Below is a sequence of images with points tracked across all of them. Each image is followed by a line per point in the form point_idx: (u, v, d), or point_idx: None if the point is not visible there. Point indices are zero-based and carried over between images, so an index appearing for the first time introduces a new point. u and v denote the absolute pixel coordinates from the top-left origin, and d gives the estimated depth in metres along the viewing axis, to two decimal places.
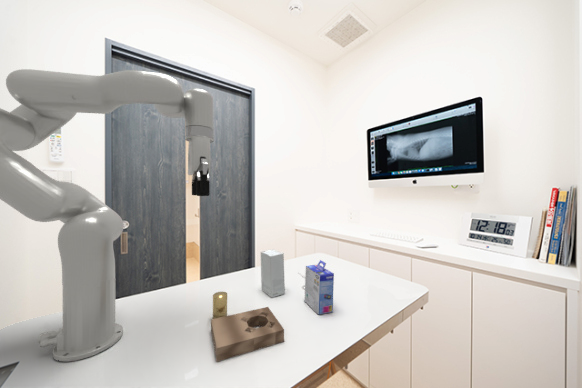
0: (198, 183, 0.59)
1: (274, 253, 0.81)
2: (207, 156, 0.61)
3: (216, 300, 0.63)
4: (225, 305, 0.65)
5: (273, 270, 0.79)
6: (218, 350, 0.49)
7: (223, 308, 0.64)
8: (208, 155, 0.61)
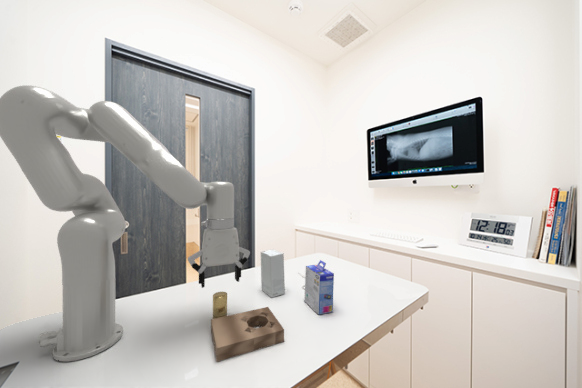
0: None
1: (274, 253, 0.81)
2: None
3: (216, 300, 0.63)
4: (225, 305, 0.65)
5: (273, 270, 0.79)
6: (218, 350, 0.49)
7: (223, 308, 0.64)
8: None
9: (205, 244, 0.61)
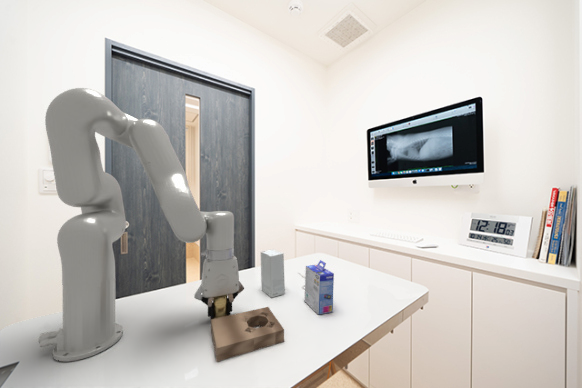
0: None
1: (274, 253, 0.81)
2: None
3: (216, 300, 0.63)
4: (225, 305, 0.65)
5: (273, 270, 0.79)
6: (218, 350, 0.49)
7: (223, 308, 0.64)
8: None
9: (205, 275, 0.61)
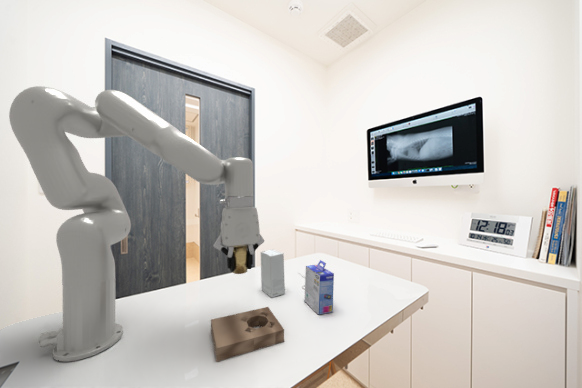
0: None
1: (274, 253, 0.81)
2: None
3: (237, 251, 0.60)
4: (246, 256, 0.61)
5: (273, 270, 0.79)
6: (218, 350, 0.49)
7: (243, 259, 0.61)
8: None
9: (225, 223, 0.58)
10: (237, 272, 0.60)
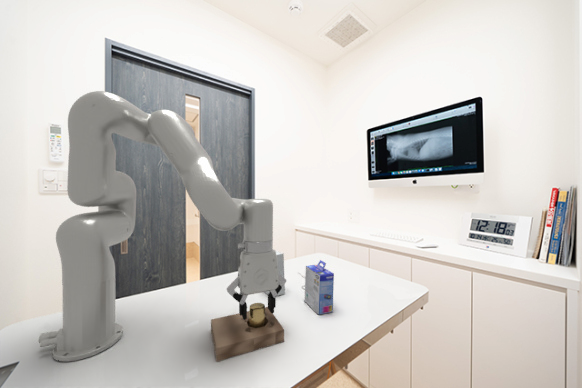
0: None
1: None
2: None
3: (254, 314, 0.57)
4: (263, 318, 0.58)
5: None
6: (218, 350, 0.49)
7: (261, 322, 0.57)
8: None
9: (244, 270, 0.55)
10: None
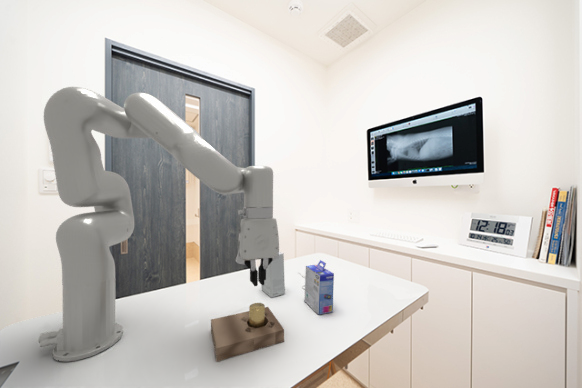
0: None
1: None
2: None
3: (254, 313, 0.57)
4: (263, 318, 0.58)
5: (273, 270, 0.79)
6: (218, 350, 0.49)
7: (261, 321, 0.57)
8: None
9: (244, 235, 0.55)
10: None
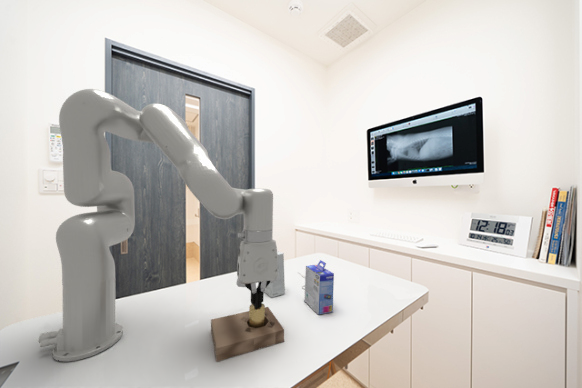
0: None
1: None
2: None
3: (254, 314, 0.57)
4: (263, 318, 0.58)
5: None
6: (218, 350, 0.49)
7: (261, 321, 0.57)
8: None
9: (243, 259, 0.55)
10: None
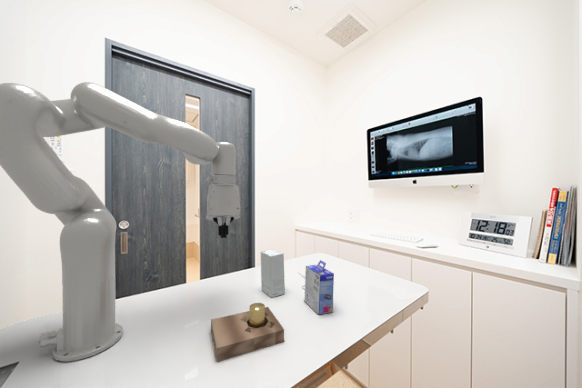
0: None
1: (274, 253, 0.81)
2: None
3: (254, 314, 0.57)
4: (263, 318, 0.58)
5: (273, 270, 0.79)
6: (218, 350, 0.49)
7: (261, 321, 0.57)
8: None
9: (210, 196, 0.69)
10: None
